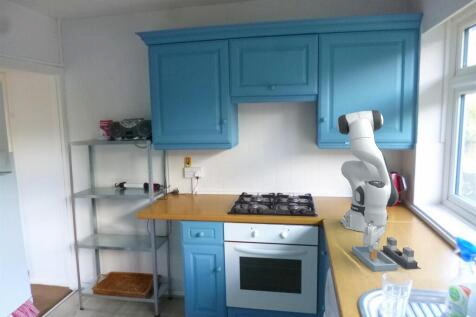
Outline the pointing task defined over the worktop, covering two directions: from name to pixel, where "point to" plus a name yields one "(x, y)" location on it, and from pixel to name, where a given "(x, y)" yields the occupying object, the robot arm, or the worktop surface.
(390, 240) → the block
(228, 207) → the worktop surface
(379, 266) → the tray
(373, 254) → the marked fuse
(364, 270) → the worktop surface
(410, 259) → the outer fuse
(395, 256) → the fuse block
